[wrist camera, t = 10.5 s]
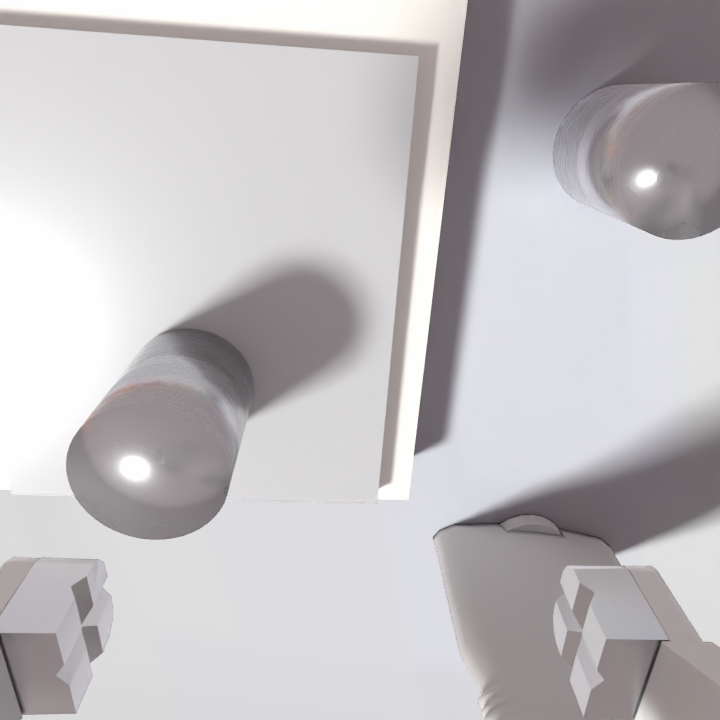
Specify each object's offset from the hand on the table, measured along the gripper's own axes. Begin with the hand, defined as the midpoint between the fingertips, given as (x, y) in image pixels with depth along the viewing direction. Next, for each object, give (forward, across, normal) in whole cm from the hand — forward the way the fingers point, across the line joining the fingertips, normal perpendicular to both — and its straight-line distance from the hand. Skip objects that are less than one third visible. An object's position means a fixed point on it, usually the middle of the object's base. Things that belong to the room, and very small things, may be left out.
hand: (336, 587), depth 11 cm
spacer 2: (+17, -10, -6) cm, 21 cm away
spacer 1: (+12, +6, +2) cm, 14 cm away
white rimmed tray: (+16, +6, -3) cm, 18 cm away
